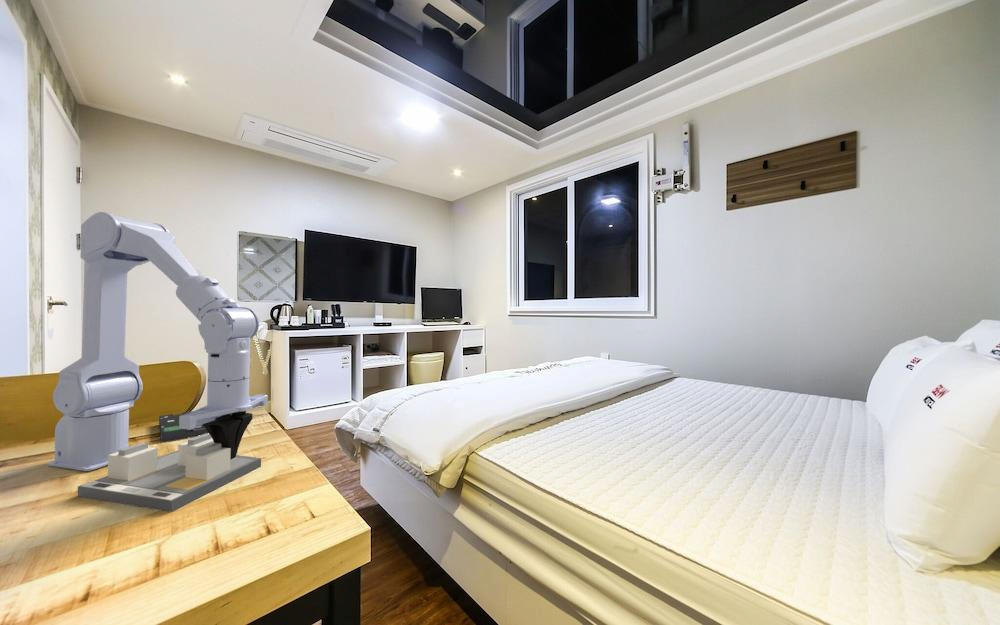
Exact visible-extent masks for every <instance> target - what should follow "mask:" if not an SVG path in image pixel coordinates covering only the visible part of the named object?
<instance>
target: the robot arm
mask: <svg viewBox="0 0 1000 625" xmlns="http://www.w3.org/2000/svg"><path fill="white" fill-rule="evenodd" d="M79 256H80V257H79V258H80V259H82V260H83V261H84V264H83V266H84V267H83V270H84V271H83V296H82V298H83V299H82V300H83V301H82V308H83V309H82V330H81V331H82V333H81V335H82V336H81V337H82V338H81V357H80V358H78V359H77V360H76V361H74V362H73V363H71V364H69V365H67V366H66V367H64V368H62V369H61V370H60V371H59V372H58V373H59V374H58V382H57V384H56V386H55V389H54V390H53V394H52V401H53V404H54V406H55V408H56V409H57V411H59V412H60V413H61V414H63V416H62V417H61V418H60V419H59V420H58V422H57V424H56V425H55V428H54V429H55V430H54V460H53V461H49V462H47V463H46V465H47V466H50V467H56V468H62V469H69V470H77V471H83V472H90V471H94V470H97V469H100V468H103V467H106V466H108V455H110V454H113V453H116V452H118V451H119V450H120V449H123V448H126V447H129V437H130V436H129V432H130V431H129V430H130V428H129V425H130V408H132V407H134V406H135V403H134V402H136V401H137V400H138V399H139V398H140V397H141V396H142V393H143V389H144V388H143V381H142V378H141V376H140V365H139V364H137V363H136V362H135V361H133V360H131V359H129V358H128V357H126V356H125V355H126V327H127V326H126V325H127V299H128V298H127V296H128V294H127V293H128V292H127V290H128V273H129V272H130V271H131V270H133V269H134V268H136V267H138V266H141V265H145V264H147V263H150V262H151V263H152V265H154V266H155V267H156V268H157V270H159V271H161V273H163V274H164V275H165V276H166V277H167V278H168V279H169V280H170V281H172V282H173V284H175V285H176V286H177V287H176V289H175V295H176V297H177V299H178V300H179V301H180V302H181V303H182V304H183V305H184V306H185V307H186V309H188V310H189V312H190V313H192V315H193V316H194V317H195V318H196V319H197V320H198V321H199V322H200V323H199V324H198V325H197V326H198V332H199V335H200V336H201V338H202V339H203V342H204V350H205V352H206V353H207V387H206V388H207V389H206V392H207V394H206V395H207V396H206V405H204V406H202V407H200V408H198V409H197V408H196V410H192V411H193V412H191V411H189V412H190V413H188V414H185V415H181V416H179V428H180V429H189V430H190V429H193V428H196V426H198V425H201V424H203V426H204V427H205V428H206V430H207V431H208V432H209V434H210V435H211V437H212V439H213V441H214V443H221V447H224V448H231V453H230V460H231V459H233V458H235V457H236V455H238V450H239V447H240V444H241V441H242V438H243V436H244V434H245V432H246V430H247V428H248V426H249V424H251V422H252V420H253V416H254V415H253V413H251V412H247V411H250V410H252V409H255V408H259V407H266V406H268V402H269V401H268V397H269V396H268V394H260V393H259V394H255V395H250V373H251V372H250V371H251V370H250V367H251V366H250V365H251V363H250V361H251V339H253V338H254V337H255V336H256V334H257V333H258V331H259V328H260V320H259V317H258V316H257V314H256V313H255V311H254V310H253V308H251V307H247V306H241V305H240V304H237V302H236V300H235V298H234V299H233V298H231V297H230V295H228V294H227V293H226V291H225V290H224V289H223V288H222V287H220V285H219V284H220V281H218V279H216V277H210V276H208V275H203V274H202V275H201V274H199V273H198V272H197V270H195V268H194V267H193V265H192V264H191V263H190V261H188V260H187V259H186V257H185V256H184V254H183V253H182V252H181V250H180V249H179V248H178V247H177V246H176V236H175V235H174V234H173V233H171V232H170V230H169V229H168V228H167V227H166V226H164V225H163V224H159V223H153V222H148V221H142V220H139V219H138V220H137V219H133V218H128V217H124V216H120V215H115V214H111V213H109V212H105V211H99V212H95V213H93V214H92V215H90V216H89V217H88V219H86V220H85V221H84V222H82V223H81V225H80V255H79Z"/></svg>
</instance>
